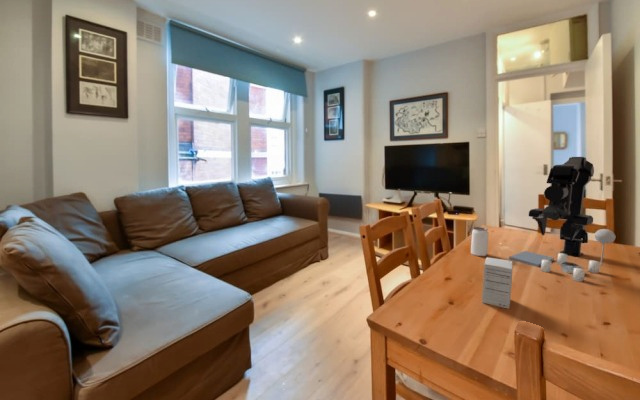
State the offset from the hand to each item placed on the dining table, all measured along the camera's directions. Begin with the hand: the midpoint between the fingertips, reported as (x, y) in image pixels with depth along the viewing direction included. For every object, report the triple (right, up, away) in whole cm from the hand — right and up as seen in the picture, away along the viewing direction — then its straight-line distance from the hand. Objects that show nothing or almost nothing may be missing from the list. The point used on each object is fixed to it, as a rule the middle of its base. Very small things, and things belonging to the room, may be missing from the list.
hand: (556, 237), depth 114 cm
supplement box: (-38, -17, -23) cm, 47 cm away
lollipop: (+21, -12, +4) cm, 25 cm away
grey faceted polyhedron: (+4, -13, -1) cm, 14 cm away
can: (-20, -10, +20) cm, 30 cm away
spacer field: (+4, -13, -1) cm, 13 cm away
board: (-1, -11, +12) cm, 16 cm away
